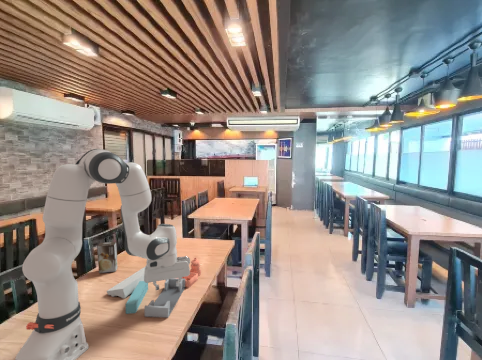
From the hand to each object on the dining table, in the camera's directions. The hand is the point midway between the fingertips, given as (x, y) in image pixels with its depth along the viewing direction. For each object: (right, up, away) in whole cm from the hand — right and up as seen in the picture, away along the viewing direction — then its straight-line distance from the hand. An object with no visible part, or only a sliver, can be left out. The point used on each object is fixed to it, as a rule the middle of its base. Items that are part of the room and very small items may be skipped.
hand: (167, 287), depth 115 cm
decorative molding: (-26, -5, +21) cm, 34 cm away
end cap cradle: (0, -7, +1) cm, 7 cm away
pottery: (+6, -5, +22) cm, 24 cm away
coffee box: (-45, -4, +32) cm, 55 cm away
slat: (-14, -7, +1) cm, 16 cm away
